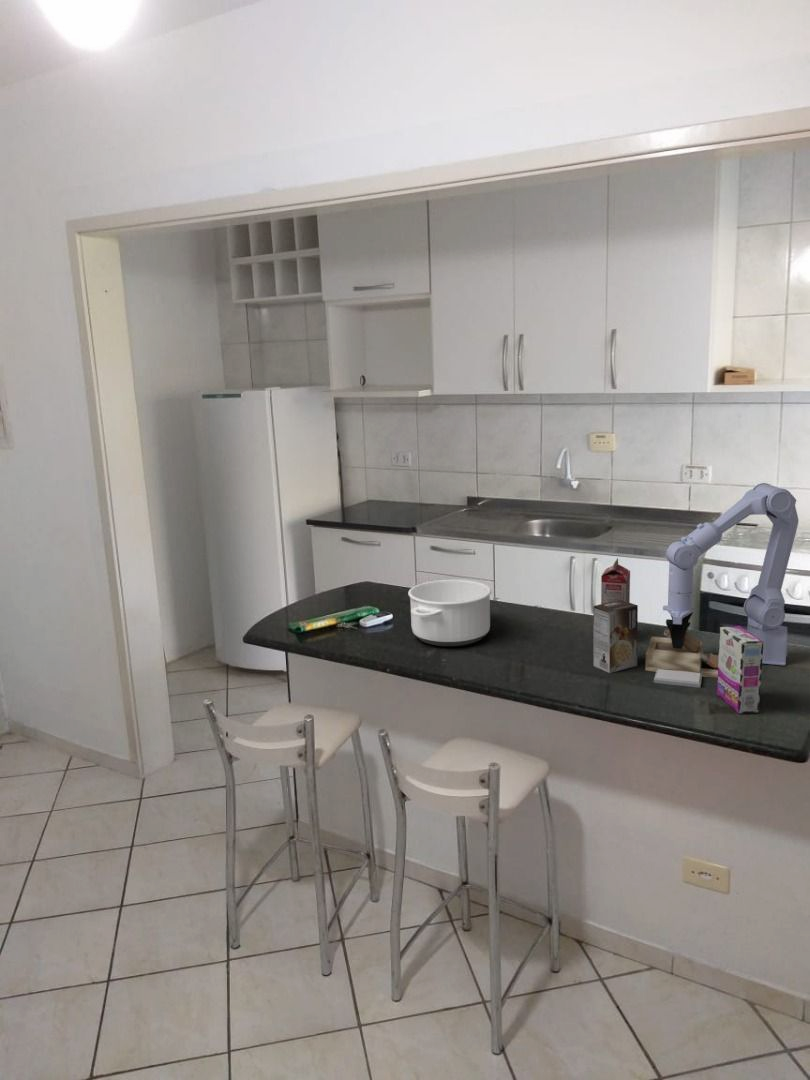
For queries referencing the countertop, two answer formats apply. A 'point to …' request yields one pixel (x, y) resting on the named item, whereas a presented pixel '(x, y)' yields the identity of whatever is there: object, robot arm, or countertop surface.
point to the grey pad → (678, 678)
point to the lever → (710, 660)
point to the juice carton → (615, 584)
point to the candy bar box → (739, 669)
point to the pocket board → (675, 658)
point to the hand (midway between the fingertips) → (678, 643)
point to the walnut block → (689, 642)
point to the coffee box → (615, 635)
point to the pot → (450, 612)
